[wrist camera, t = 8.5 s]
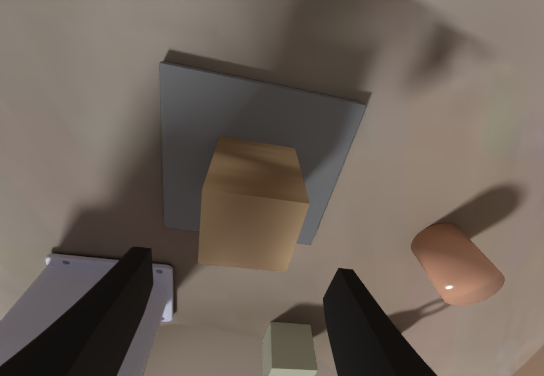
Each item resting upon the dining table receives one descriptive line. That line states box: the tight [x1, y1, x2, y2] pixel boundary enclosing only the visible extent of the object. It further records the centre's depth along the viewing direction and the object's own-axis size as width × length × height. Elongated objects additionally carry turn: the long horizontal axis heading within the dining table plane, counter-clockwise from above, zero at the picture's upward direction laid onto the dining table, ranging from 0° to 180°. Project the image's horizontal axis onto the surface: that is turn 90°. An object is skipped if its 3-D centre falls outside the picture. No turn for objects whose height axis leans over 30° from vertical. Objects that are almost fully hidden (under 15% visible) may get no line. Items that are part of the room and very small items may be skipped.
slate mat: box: [159, 61, 366, 245], centre depth 17 cm, size 11×11×1 cm
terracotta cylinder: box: [411, 223, 505, 306], centre depth 20 cm, size 4×4×4 cm
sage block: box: [263, 322, 318, 376], centre depth 27 cm, size 4×4×4 cm
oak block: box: [198, 136, 310, 272], centre depth 14 cm, size 4×4×6 cm
